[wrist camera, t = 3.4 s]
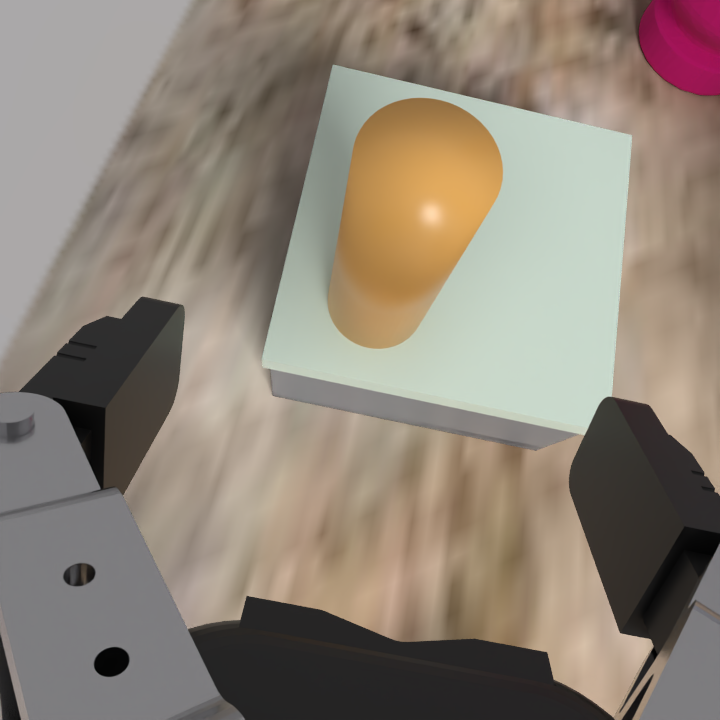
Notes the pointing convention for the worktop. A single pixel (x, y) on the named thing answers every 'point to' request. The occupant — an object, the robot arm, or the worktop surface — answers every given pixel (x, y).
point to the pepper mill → (684, 43)
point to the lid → (456, 254)
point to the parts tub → (414, 411)
